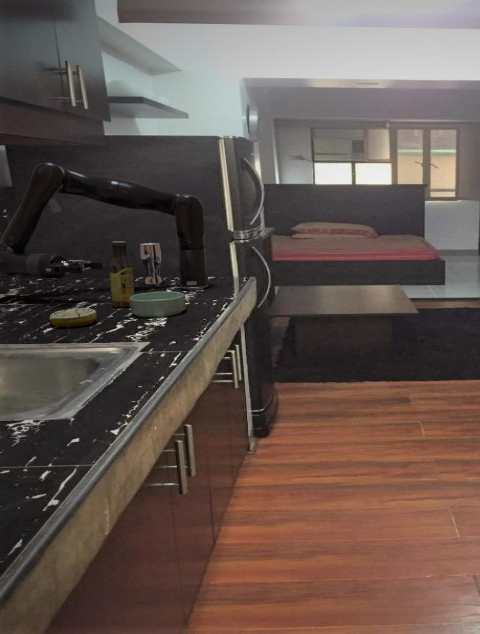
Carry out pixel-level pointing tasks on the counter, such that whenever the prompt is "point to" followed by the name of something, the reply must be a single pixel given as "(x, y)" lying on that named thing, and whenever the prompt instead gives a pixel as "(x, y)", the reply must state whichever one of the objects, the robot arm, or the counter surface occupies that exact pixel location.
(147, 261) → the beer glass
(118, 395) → the counter surface
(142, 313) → the bowl
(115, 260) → the sauce bottle
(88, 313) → the decorated donut
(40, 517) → the counter surface
